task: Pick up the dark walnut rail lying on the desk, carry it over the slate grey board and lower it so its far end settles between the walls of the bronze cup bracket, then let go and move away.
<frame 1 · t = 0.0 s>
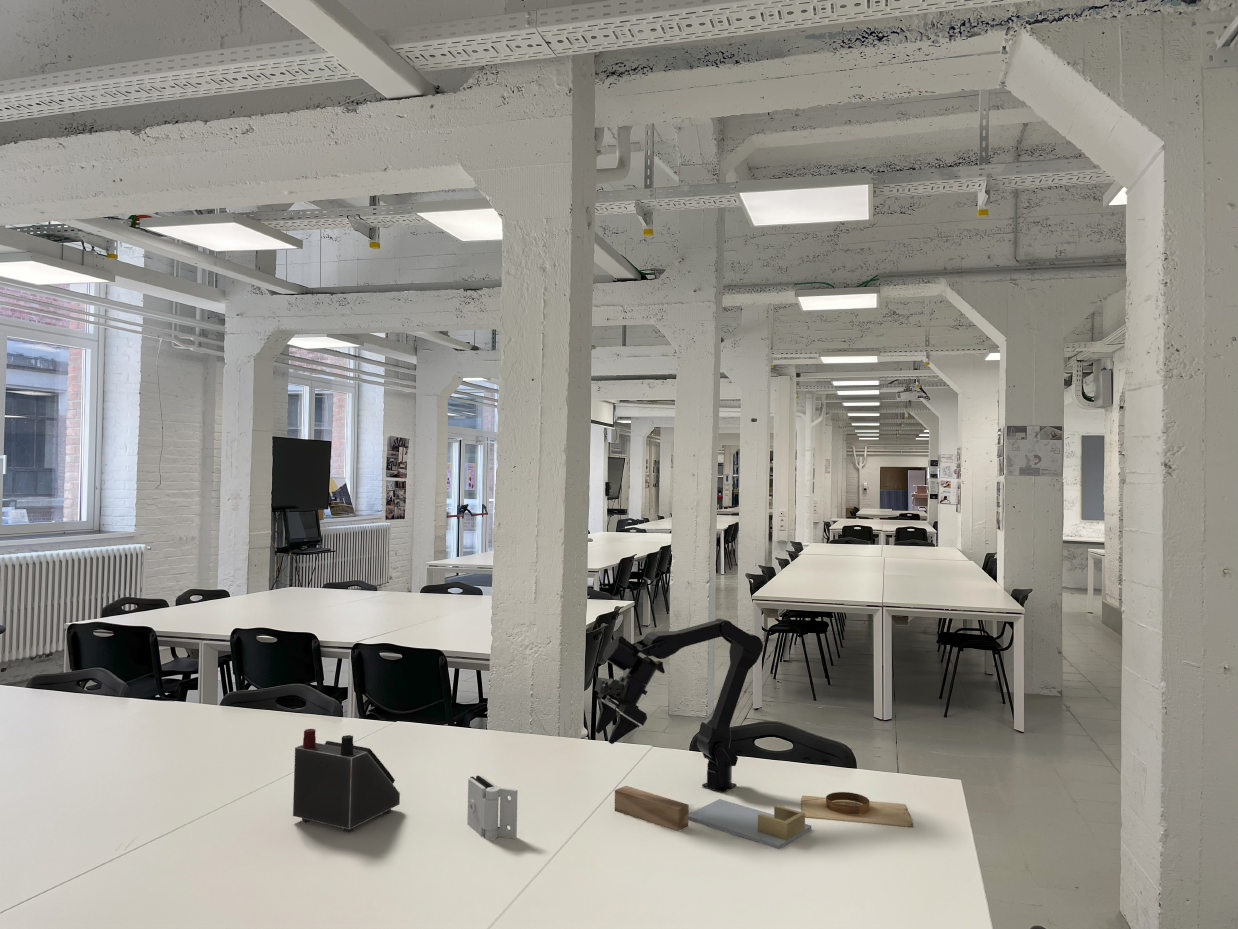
hand: (603, 737, 199), 15 cm above the table, tool tilted 35°, fingers open, 9 cm apart
walnut rail: (650, 819, 188), on the table
mounting board: (747, 824, 186), on the table
cup bracket: (781, 822, 180), on the mounting board, point 3 cm above the table
board: (853, 814, 195), on the table
voltmeter: (347, 817, 187), on the table
hinge: (490, 832, 180), on the table
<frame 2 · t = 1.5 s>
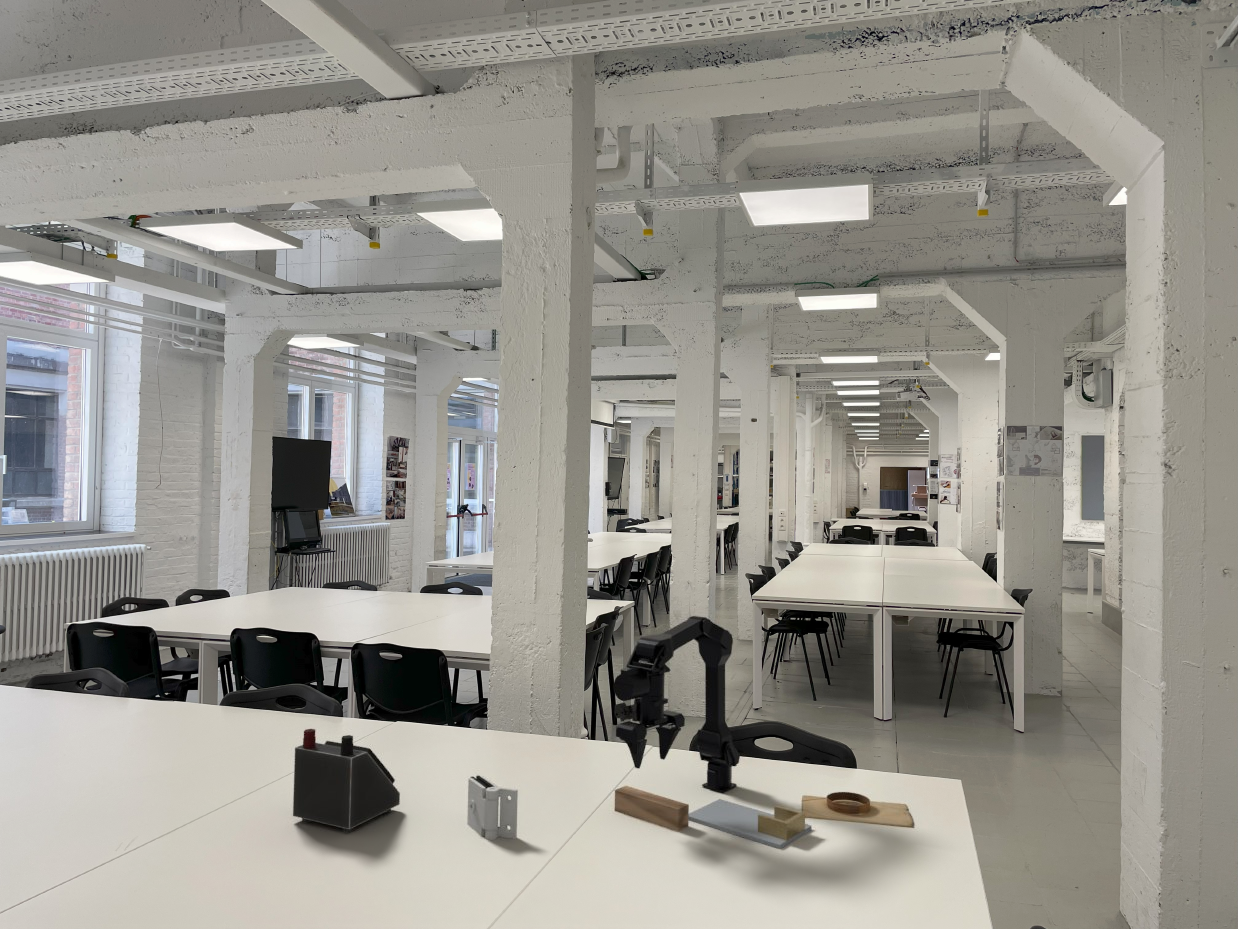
hand: (650, 763, 189), 12 cm above the table, tool pointing down, fingers open, 9 cm apart
nothing on the table moved.
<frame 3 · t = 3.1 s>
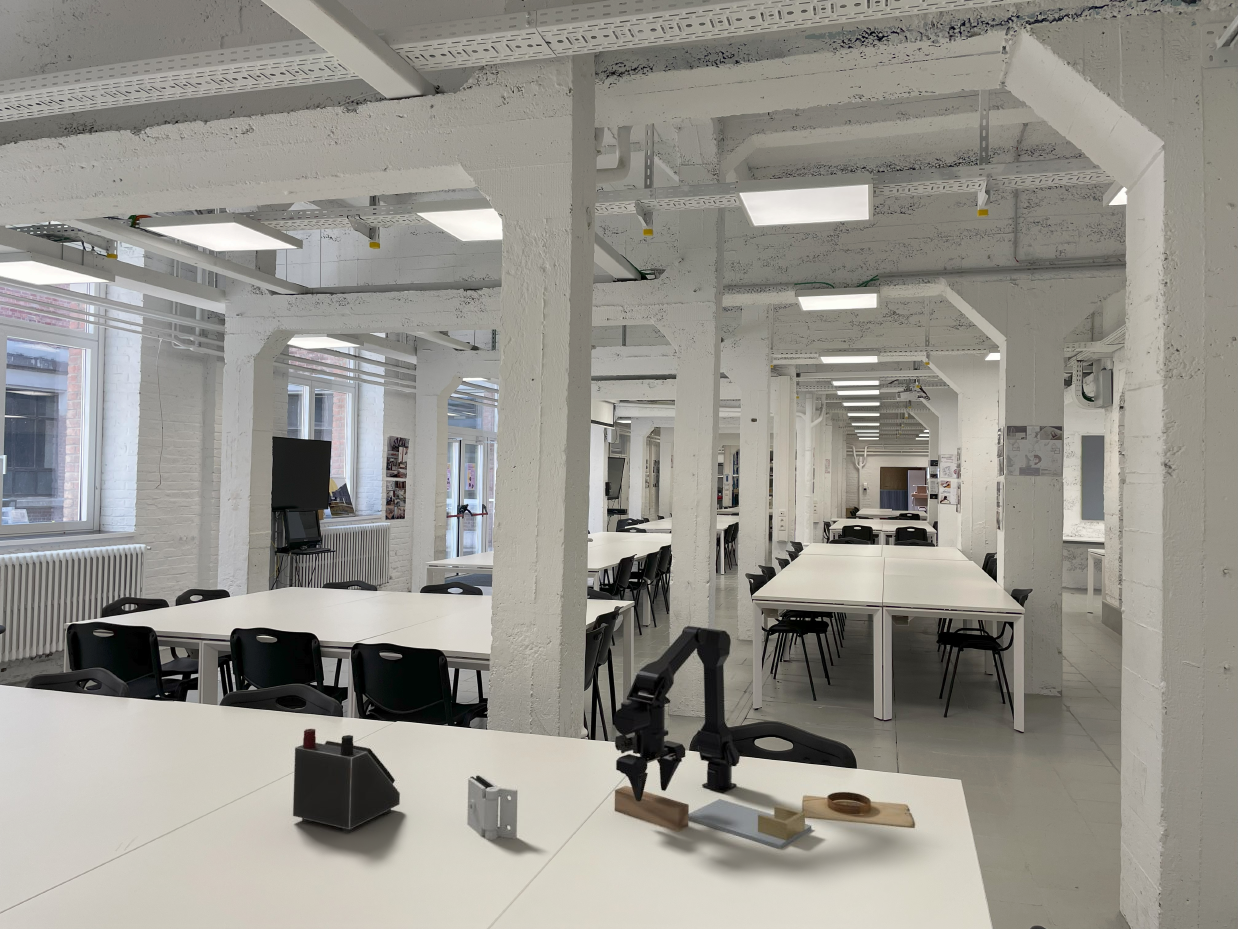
hand: (651, 795, 188), 5 cm above the table, tool pointing down, fingers open, 9 cm apart
nothing on the table moved.
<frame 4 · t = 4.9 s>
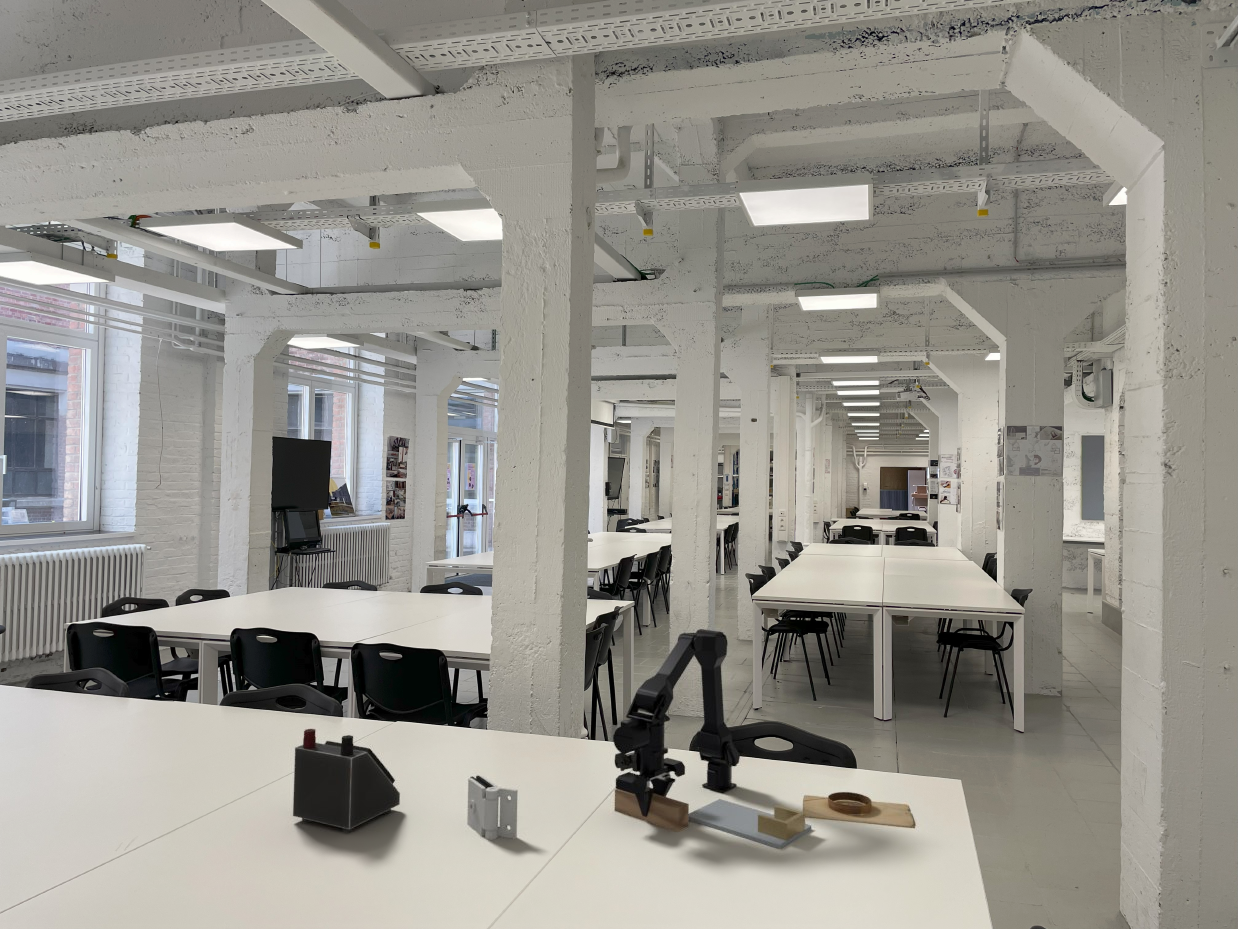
hand: (650, 813, 188), 1 cm above the table, tool pointing down, fingers closed on walnut rail, 4 cm apart
walnut rail: (650, 819, 188), on the table, touching gripper
everything else where it was.
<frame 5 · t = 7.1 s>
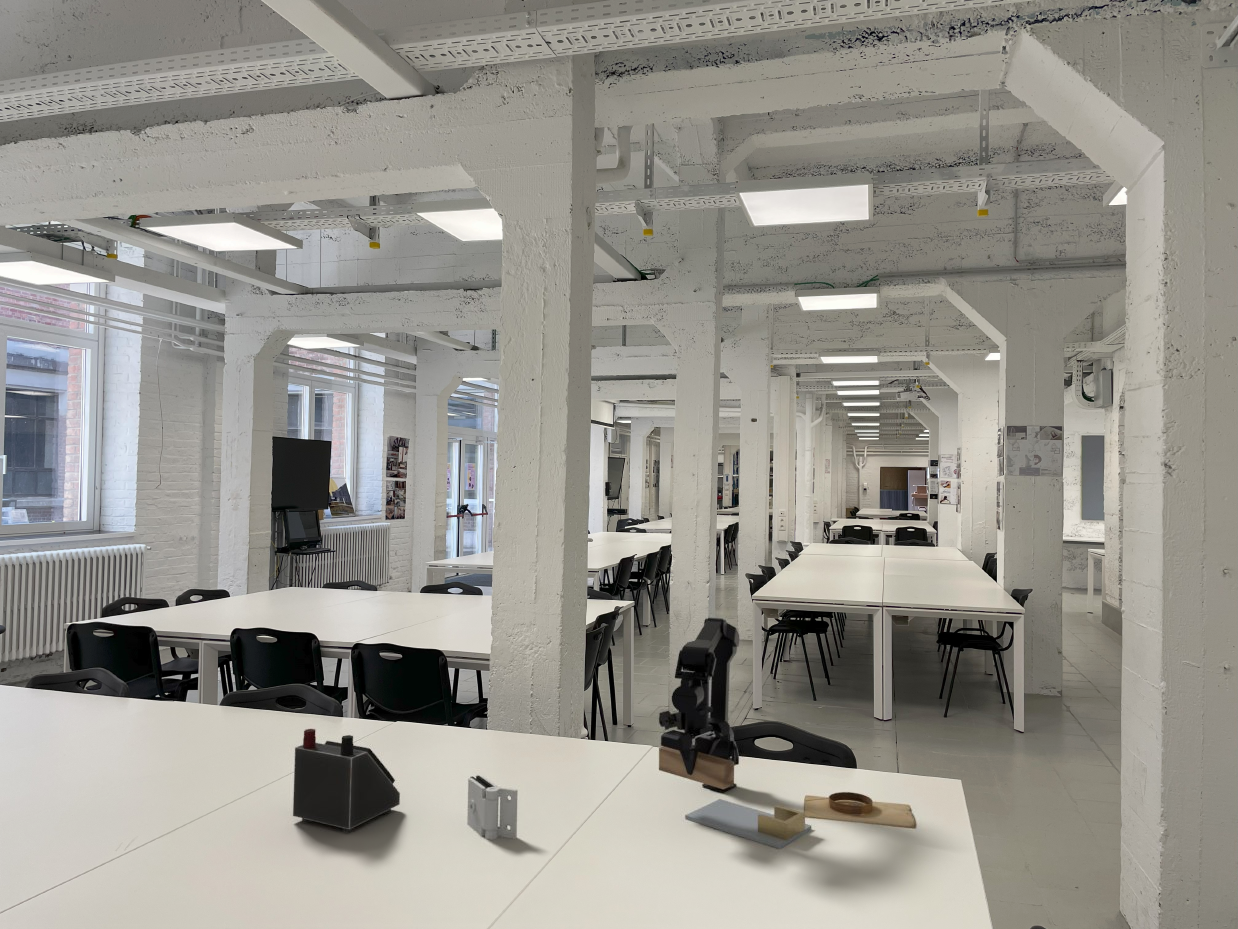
hand: (695, 772, 187), 11 cm above the table, tool pointing down, fingers closed on walnut rail, 4 cm apart
walnut rail: (695, 777, 187), point 10 cm above the table, touching gripper
everything else where it was.
when the fingers open (3 cm above the table, at t = 9.8 s): walnut rail drops 1 cm, resting on mounting board.
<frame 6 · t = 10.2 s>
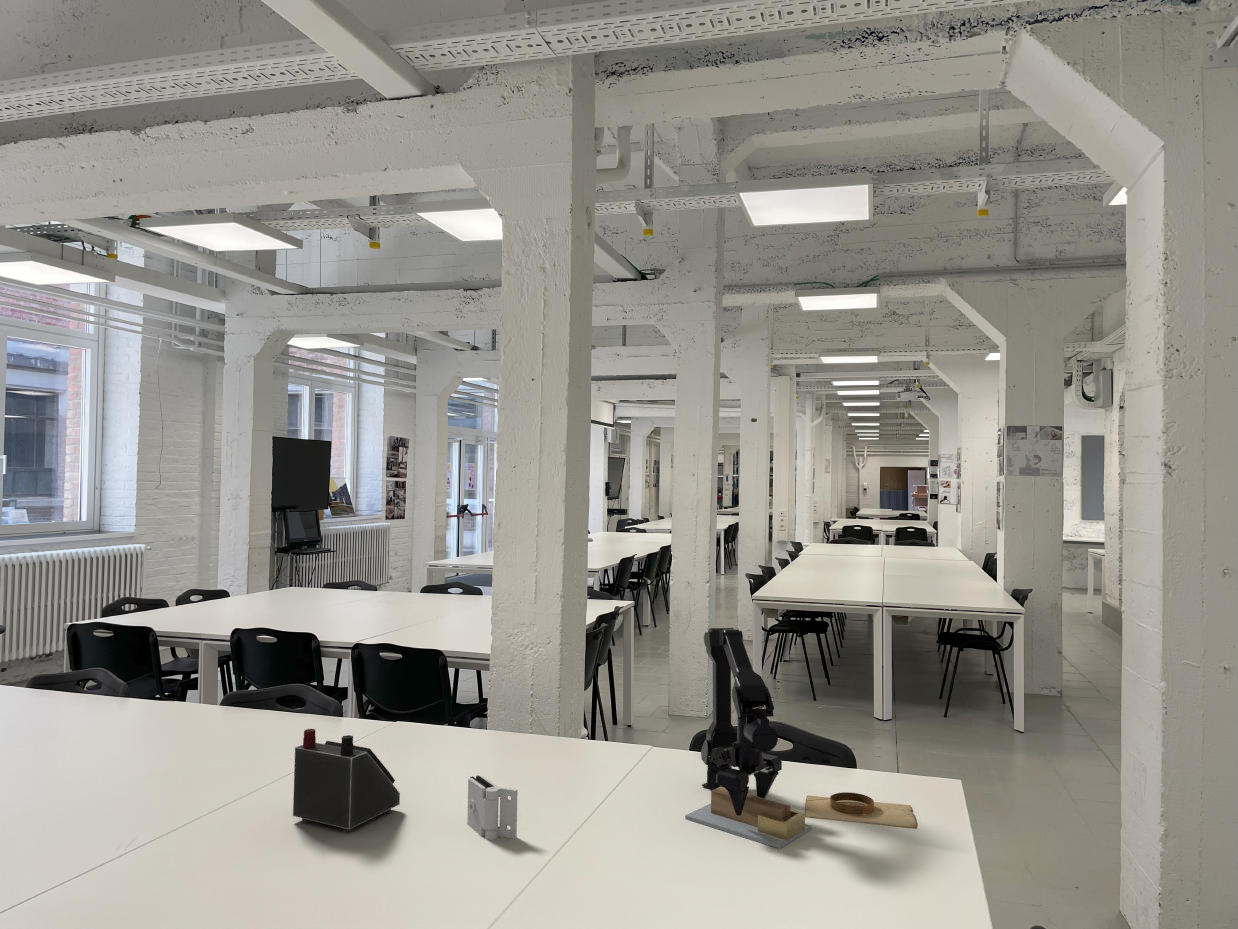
hand: (749, 809, 185), 3 cm above the table, tool pointing down, fingers open, 9 cm apart
walnut rail: (749, 821, 185), point 1 cm above the table, touching mounting board
everything else where it was.
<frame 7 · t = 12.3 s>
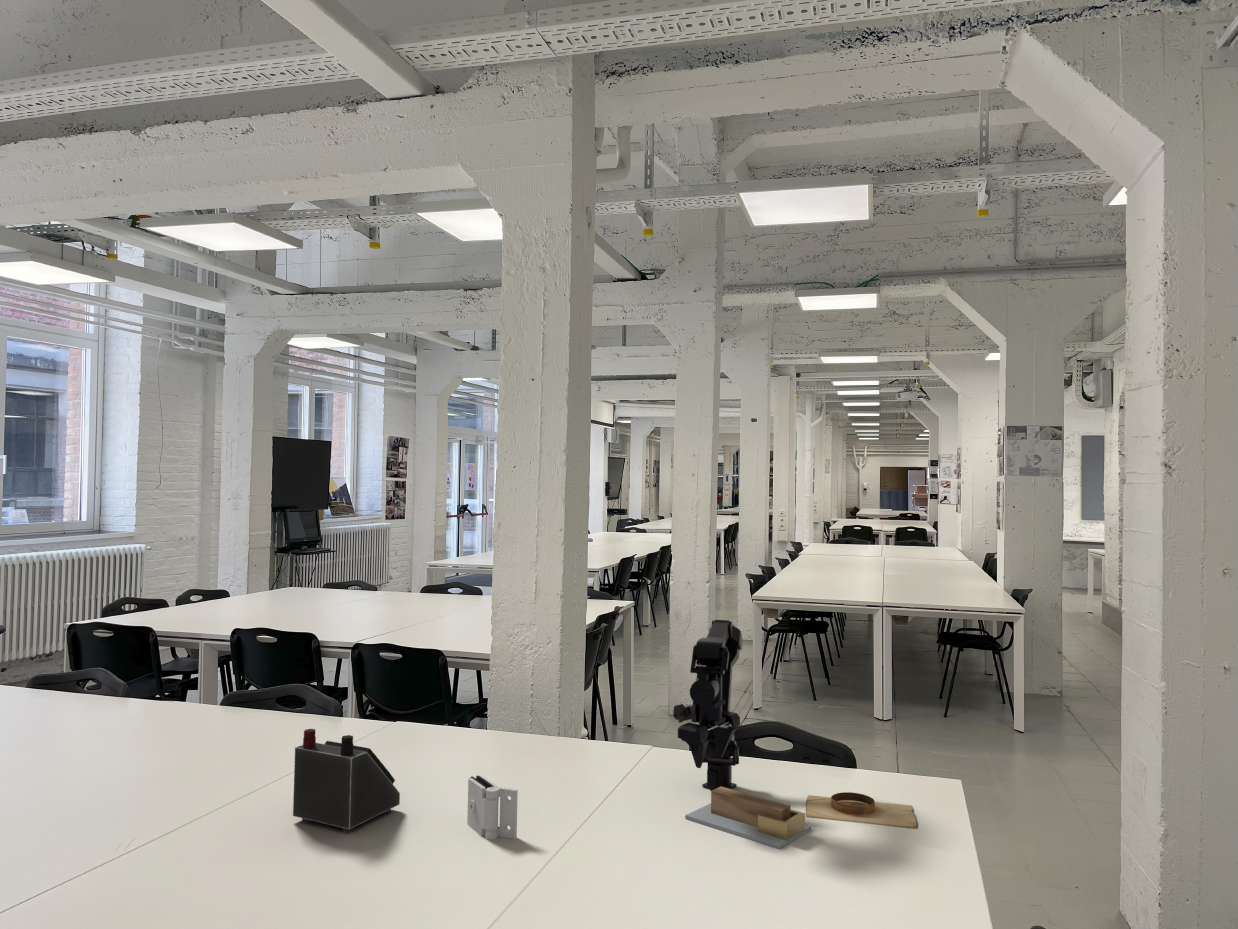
hand: (709, 762, 194), 11 cm above the table, tool pointing down, fingers open, 9 cm apart
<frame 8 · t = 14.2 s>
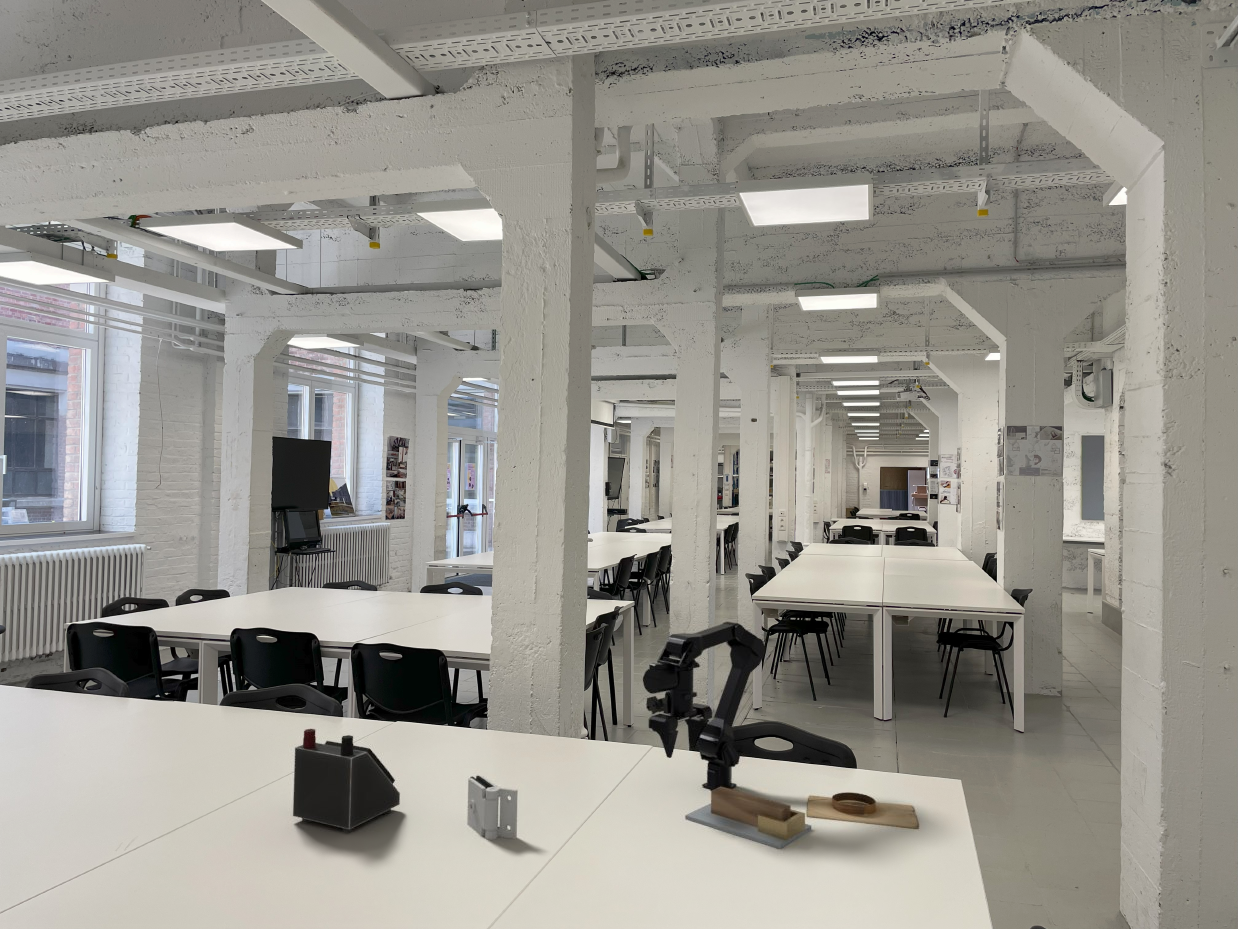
hand: (680, 753, 200), 11 cm above the table, tool pointing down, fingers open, 9 cm apart
at the end: walnut rail 0.5 cm off-centre on the cup bracket, point 0.0 cm above the cup bracket's base; walnut rail tilted 0°; the gripper is holding nothing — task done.
